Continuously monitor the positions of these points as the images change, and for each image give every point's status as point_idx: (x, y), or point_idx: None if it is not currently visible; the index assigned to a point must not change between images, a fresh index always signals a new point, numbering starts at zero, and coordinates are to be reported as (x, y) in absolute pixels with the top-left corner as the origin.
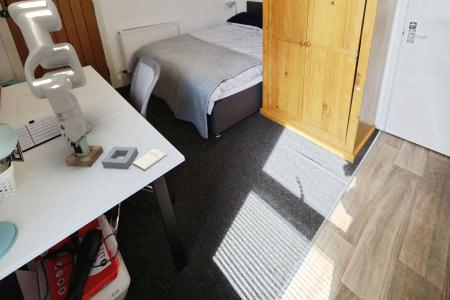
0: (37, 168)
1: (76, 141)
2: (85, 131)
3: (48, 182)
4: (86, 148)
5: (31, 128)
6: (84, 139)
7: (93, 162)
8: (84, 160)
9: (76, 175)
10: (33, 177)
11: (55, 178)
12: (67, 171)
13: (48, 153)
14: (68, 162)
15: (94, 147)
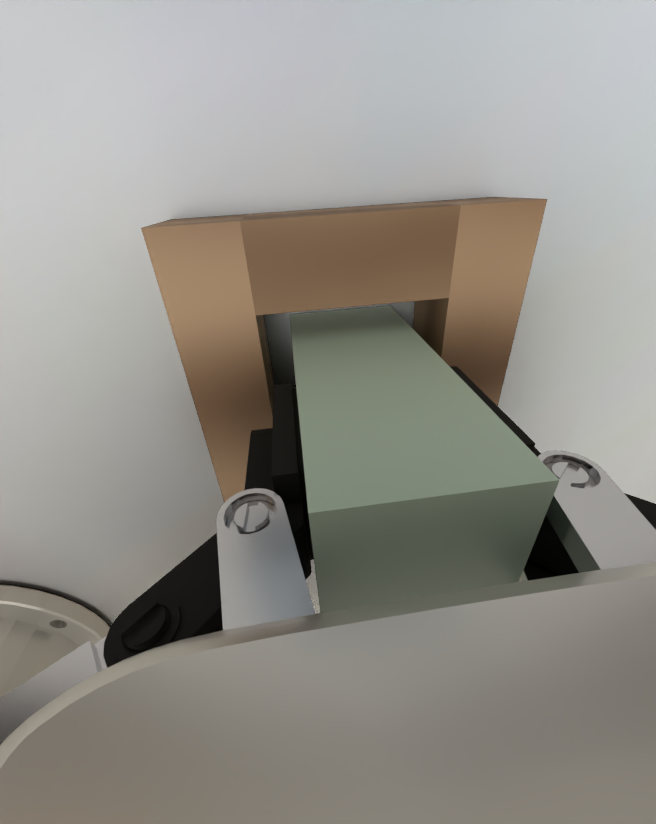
0: None
1: (622, 550)
2: (204, 691)
3: (632, 442)
4: (357, 367)
5: None
6: (340, 475)
7: (429, 201)
8: (516, 276)
9: (613, 276)
10: None
11: (599, 427)
12: (530, 397)
13: None
14: None
15: (215, 325)
